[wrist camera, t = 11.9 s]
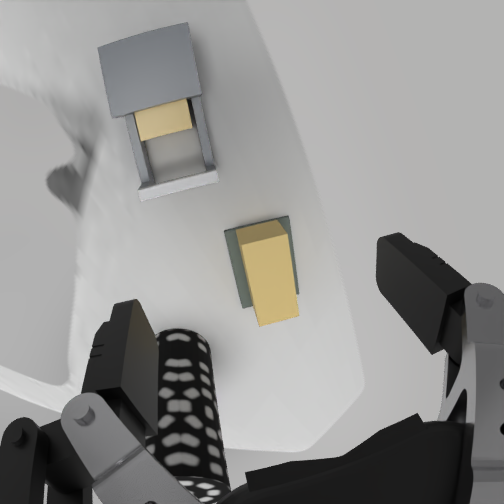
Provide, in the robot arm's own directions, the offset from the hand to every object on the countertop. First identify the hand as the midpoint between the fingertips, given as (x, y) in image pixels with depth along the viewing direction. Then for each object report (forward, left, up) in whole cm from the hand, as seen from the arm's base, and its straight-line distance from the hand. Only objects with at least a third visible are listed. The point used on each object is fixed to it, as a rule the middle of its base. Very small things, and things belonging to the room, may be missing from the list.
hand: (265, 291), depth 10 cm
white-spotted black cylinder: (+22, -10, -24) cm, 34 cm away
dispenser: (-6, -3, -23) cm, 24 cm away
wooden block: (+12, +3, -23) cm, 26 cm away
